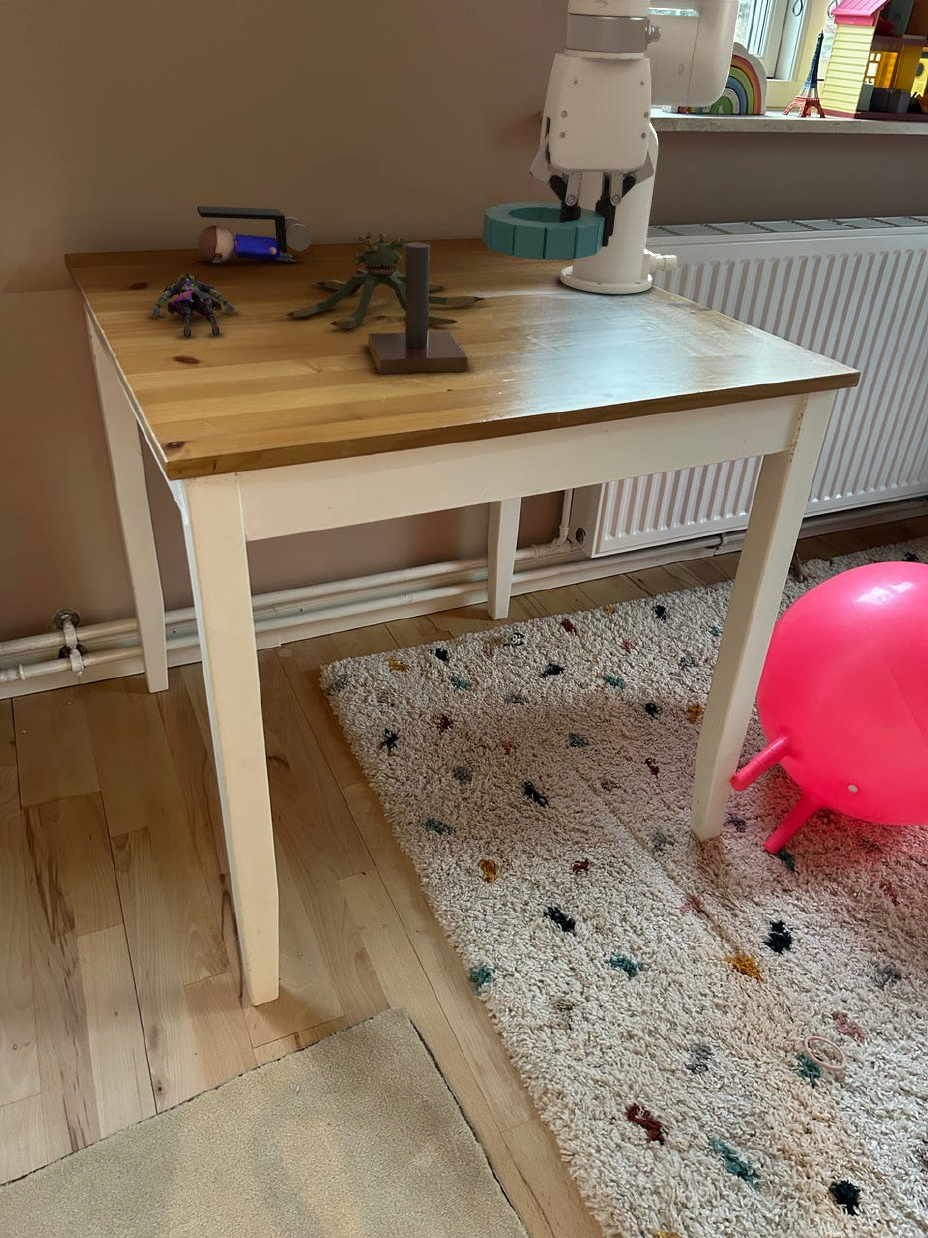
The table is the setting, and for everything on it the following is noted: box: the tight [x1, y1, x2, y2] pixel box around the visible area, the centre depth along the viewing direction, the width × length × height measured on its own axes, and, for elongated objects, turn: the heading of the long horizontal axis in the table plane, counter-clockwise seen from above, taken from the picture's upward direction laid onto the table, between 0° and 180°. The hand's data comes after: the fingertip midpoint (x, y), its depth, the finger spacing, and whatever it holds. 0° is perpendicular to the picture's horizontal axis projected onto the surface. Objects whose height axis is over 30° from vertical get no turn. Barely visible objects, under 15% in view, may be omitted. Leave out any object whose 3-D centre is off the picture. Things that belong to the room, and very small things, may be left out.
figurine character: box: [196, 205, 312, 264], centre depth 133 cm, size 7×8×15 cm
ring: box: [482, 202, 605, 261], centre depth 98 cm, size 12×12×3 cm
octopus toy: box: [285, 231, 487, 330], centre depth 115 cm, size 25×20×9 cm
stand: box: [367, 241, 469, 375], centre depth 98 cm, size 9×9×12 cm
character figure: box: [151, 272, 236, 338], centre depth 110 cm, size 9×4×16 cm
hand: (584, 242), depth 100 cm, fingers closed on ring, 2 cm apart
